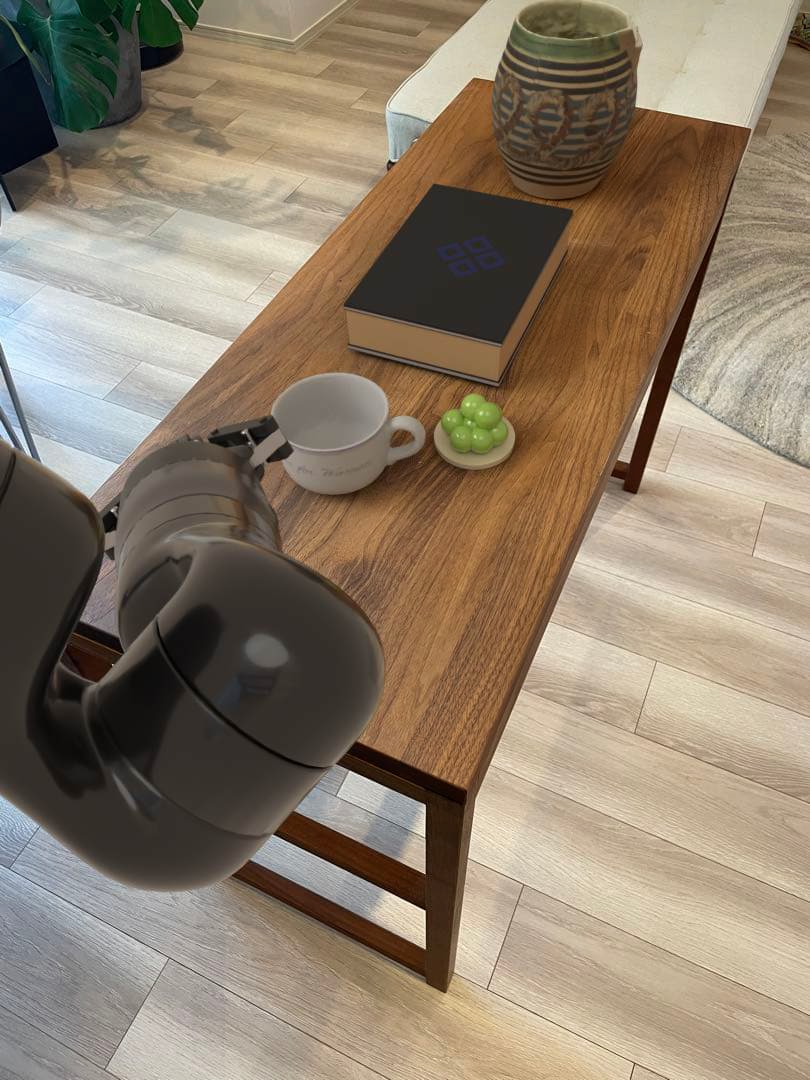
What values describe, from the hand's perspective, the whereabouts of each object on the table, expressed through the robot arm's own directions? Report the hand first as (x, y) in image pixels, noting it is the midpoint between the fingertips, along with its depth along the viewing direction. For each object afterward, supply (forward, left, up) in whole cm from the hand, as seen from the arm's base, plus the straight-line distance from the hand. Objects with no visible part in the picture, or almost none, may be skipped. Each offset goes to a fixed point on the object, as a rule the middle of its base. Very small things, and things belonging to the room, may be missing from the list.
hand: (185, 451), depth 56 cm
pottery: (+49, +58, -20) cm, 79 cm away
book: (+30, +35, -20) cm, 50 cm away
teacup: (+12, +13, -20) cm, 27 cm away
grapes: (+25, +14, -19) cm, 34 cm away
